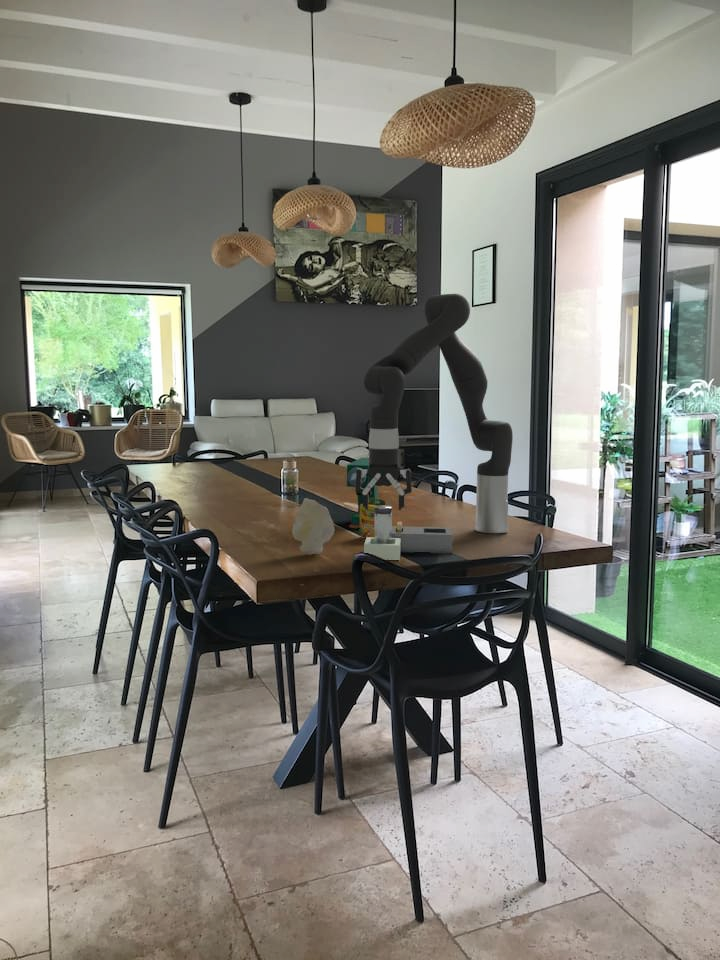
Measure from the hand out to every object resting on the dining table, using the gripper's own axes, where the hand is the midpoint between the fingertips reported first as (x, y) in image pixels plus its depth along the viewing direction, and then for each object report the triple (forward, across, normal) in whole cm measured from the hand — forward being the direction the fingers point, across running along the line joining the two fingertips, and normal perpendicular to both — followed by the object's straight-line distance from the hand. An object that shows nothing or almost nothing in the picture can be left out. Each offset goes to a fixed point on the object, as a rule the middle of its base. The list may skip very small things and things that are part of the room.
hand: (383, 509), depth 201 cm
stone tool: (+12, -18, 0) cm, 22 cm away
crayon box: (+13, -4, +21) cm, 25 cm away
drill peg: (+12, 0, 0) cm, 12 cm away
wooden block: (+12, +4, +10) cm, 16 cm away
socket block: (+12, +9, +10) cm, 18 cm away
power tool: (+13, -8, +37) cm, 40 cm away
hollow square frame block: (+12, 0, 0) cm, 12 cm away
